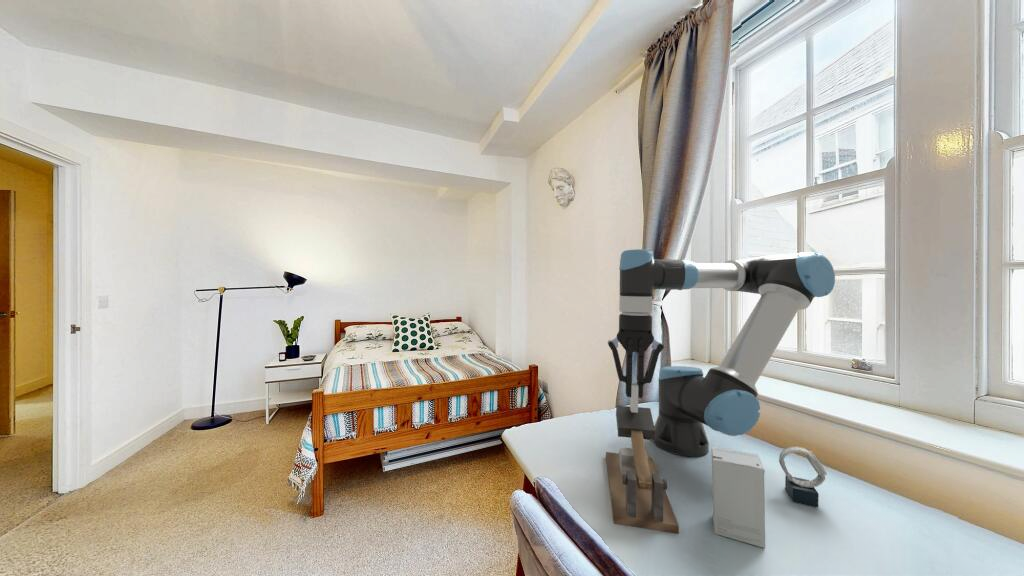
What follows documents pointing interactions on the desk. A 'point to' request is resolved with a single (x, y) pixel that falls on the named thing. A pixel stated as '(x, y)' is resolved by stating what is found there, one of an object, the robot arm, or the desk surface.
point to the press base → (638, 495)
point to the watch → (803, 488)
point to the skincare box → (738, 496)
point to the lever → (637, 439)
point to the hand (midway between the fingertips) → (633, 410)
